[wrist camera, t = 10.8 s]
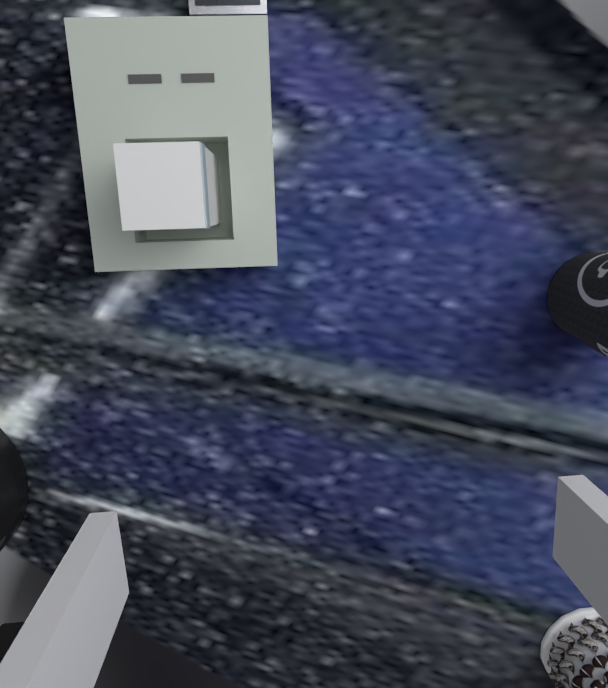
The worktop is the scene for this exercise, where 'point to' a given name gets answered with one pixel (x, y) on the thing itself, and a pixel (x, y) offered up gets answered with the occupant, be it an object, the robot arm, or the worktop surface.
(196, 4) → the phone
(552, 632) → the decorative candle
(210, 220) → the block
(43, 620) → the robot arm
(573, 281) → the coffee cup
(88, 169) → the outlet plate
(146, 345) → the worktop surface
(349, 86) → the worktop surface
